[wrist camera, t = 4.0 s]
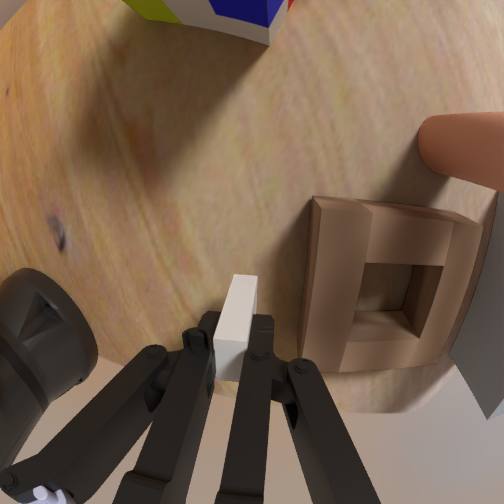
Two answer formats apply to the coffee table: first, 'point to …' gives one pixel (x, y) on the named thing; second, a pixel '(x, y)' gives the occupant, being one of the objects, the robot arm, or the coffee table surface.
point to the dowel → (465, 147)
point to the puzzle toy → (220, 15)
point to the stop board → (486, 327)
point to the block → (382, 251)
